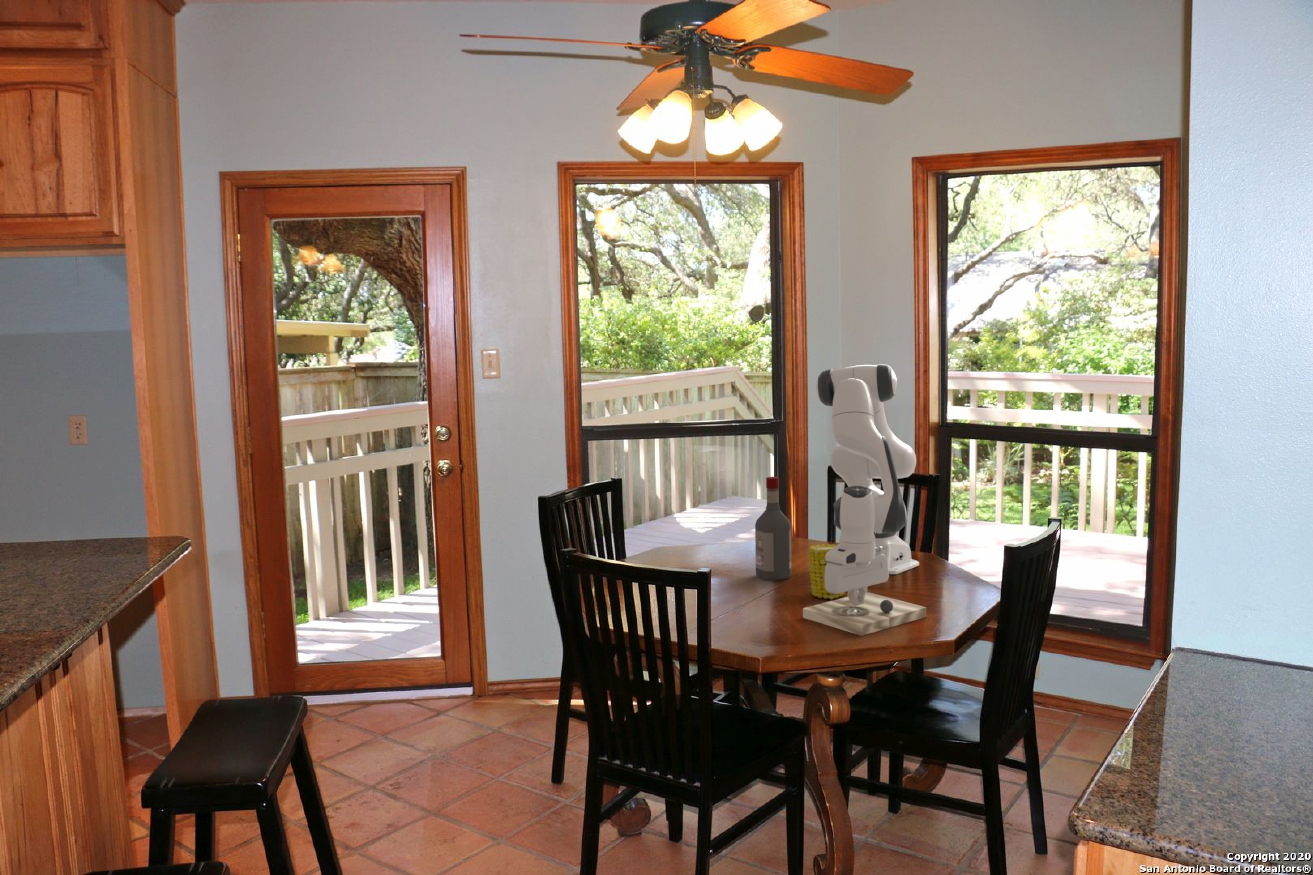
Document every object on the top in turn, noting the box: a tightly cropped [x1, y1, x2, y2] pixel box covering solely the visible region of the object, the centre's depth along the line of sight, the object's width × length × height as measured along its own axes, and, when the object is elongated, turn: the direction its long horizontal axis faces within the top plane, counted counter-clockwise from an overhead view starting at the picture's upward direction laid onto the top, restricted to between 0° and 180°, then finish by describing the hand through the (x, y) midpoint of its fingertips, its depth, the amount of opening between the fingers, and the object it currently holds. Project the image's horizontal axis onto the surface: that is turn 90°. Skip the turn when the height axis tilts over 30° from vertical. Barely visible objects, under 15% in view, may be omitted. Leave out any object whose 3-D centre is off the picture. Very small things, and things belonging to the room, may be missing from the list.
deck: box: [802, 591, 927, 636], centre depth 259 cm, size 24×20×2 cm
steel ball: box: [846, 608, 858, 614], centre depth 256 cm, size 3×3×3 cm
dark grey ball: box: [880, 600, 893, 613], centre depth 254 cm, size 3×3×3 cm
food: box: [808, 543, 846, 601], centre depth 280 cm, size 15×12×10 cm
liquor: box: [754, 476, 792, 582], centre depth 301 cm, size 9×9×30 cm
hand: (857, 604), depth 257 cm, fingers closed
